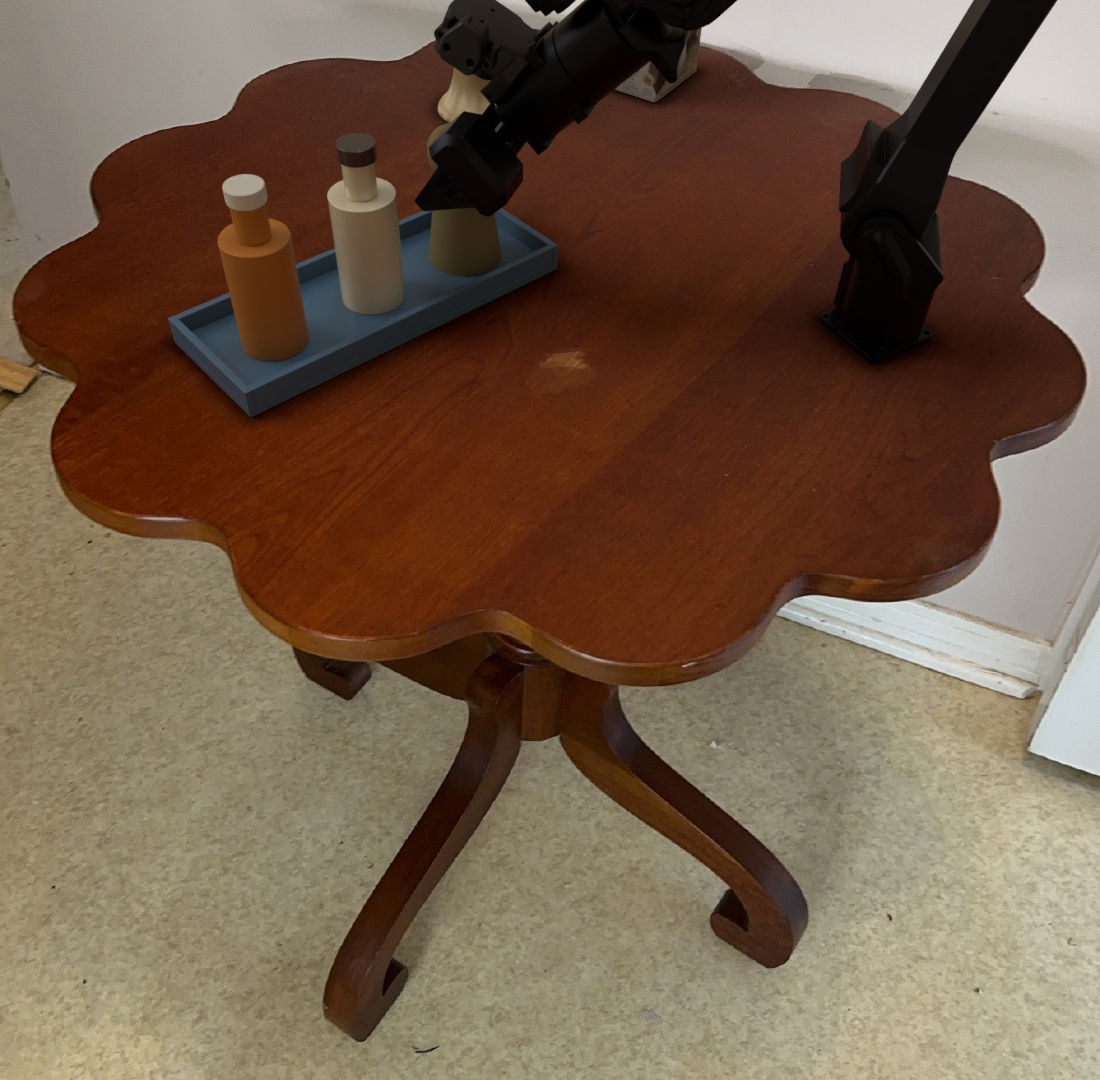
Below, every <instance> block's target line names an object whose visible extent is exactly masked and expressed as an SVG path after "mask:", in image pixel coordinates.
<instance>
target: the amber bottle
mask: <svg viewBox="0 0 1100 1080" xmlns="http://www.w3.org/2000/svg"><path fill="white" fill-rule="evenodd" d="M221 189H222V193H223V197H224V198H223V199H224V202H225V205H226V206H227V207H228V209H229V211H230V216H231V220H232V222H231V223H230V224H229V225H227V226H226V227H224V228H223V229H222V230H221V231H220V232H219V234H218V236H217V246H218V250H219V255H220V259H221V262H222V266H223V271H224V276H225V280H226V284H227V288H228V293H230V298H231V302H232V306H233V310H234V315H235V319H236V323H237V327H238V332H239V336H240V340H241V344H242V348H243V350H244V351H245V352H246V353H247V354H248V355H249V356H251V357H253V358H255V359H258V360H263V361H279V360H284V359H288V358H290V357H293V356H295V355H297V354H298V353H300V352H301V351H302V350H303V349H304V348H305V347H306V345H307V343H308V340H309V335H308V329H307V324H306V318H305V312H304V307H303V301H302V295H301V290H300V284H299V278H298V273H297V267H296V264H297V262H296V256H295V249H294V245H293V241H292V239H293V238H292V234H291V230H290V229H289V228H288V226H287V225H286V224H285V223H284V222H282V221H279V220H276V219H274V218H269V213H268V208H267V204H266V203H267V202H268V192H267V187H266V183H265V180H264V179H263V178H262V177H260V176H258V175H256V174H250V173H242V174H237V175H233V176H230V177H229V178H227V179H226V180H224V181H223V183H222V186H221Z"/></svg>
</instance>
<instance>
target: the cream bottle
mask: <svg viewBox="0 0 1100 1080" xmlns="http://www.w3.org/2000/svg"><path fill="white" fill-rule="evenodd" d="M376 141H377V140H376V138H374V136H372V135H370V134H368V133H363V132H351V133H346V134H343V135H341V136H340V137H338V138H337V139H336V141H335V149H336V157H337V158H336V159H337V161H338V163H339V164H340V165H341V166H340V167H341V174H342V180H339V181H337V182H336V183H334V184H333V185H332V186H331V187H330V188H329V189H328V191H327V194H326V197H327V204H328V212H329V219H330V225H331V233H332V239H333V240H332V241H333V246H334V248H335V254H336V261H337V268H338V275H339V282H340V289H341V296H342V301H343V303H344V305H345V306H346V307H347V308H348V309H350V310H352V311H354V312H357V313H360V314H366V315H376V314H383V313H386V312H389V311H392V310H394V309H395V308H397V307H398V306H400V305H401V303H402V302H403V301H404V298H405V286H404V275H403V264H402V253H401V242H400V231H399V221H400V220H399V211H398V199H397V191H396V187H394V185H393V184H392V183H391V182H389V181H388V180H386V179H383V178H381V177H377V167H376V161H377V159H378V153H377V142H376Z"/></svg>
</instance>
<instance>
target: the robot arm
mask: <svg viewBox="0 0 1100 1080" xmlns="http://www.w3.org/2000/svg"><path fill="white" fill-rule="evenodd" d="M576 1H577V0H524V2H525V3H526V4H527V5H528V6H529V7H530V9H532V11H533V12H534V13H538V12H541V13H542V15H543V16H544V17H545V18H546V17H548V16H549V15H550V14H552V13H553V12H554V13H555V14H557V15H560V14H561V13H563V12H565V11H566V10H567V9H568V8H569V7H571V6H572V5H573V4H574V3H575V2H576ZM736 2H738V0H583V1H581V2H580V3H579V4H578V5H577V6H576V7H574V9H572V10H571V11H570V12H569V13H568V14H567V15H566V16H565V17H563V18H562V19H561V20H560V21H559V22H558V20H556V21H555V22H554V23H551V21H548V22H547V23H546V24H544V25H543V26H542V27H541V28H540V29H538V28H532V27H531V26H530V25H528V24H527V23H526V22H525V21H524V20H523V19H522V17H521V16H519V15H518V14H517V13H515V12H514V11H512V10H511V9H510V8H508V7H507V6H505V5H504V4H502V3H501V2H500V1H498V0H452V1H451V2H450V3H449V4H448V7H447V10H446V11H445V14H444V17H443V19H442V22H441V23H440V24H439V25H438V26H437V27H436V28H435V29H434V32H433V36H434V38H435V39H434V41H433V48H434V50H435V52H436V53H437V54H438V55H439V58H440V59H441V60H442V61H443V62H445V63H447V64H448V65H450V66H451V67H453V69H454V68H456V69H457V70H459V71H460V72H462V73H463V74H465V75H472V74H474V75H476V76H477V77H479V78H481V79H484V80H490V81H489V82H488V83H487V84H486V85H485V86H484V87H483V88H482V89H481V91H480V92H481V93H482V94H483V95H484V97H485V98H486V99H487V100H488V101H489V103H490V104H489V106H488V107H487V108H486V110H485V111H484V112H483V114H482V115H481V114H477V113H472V112H466V111H463V112H462V113H461V114H460V115H459V116H458V117H456V118H455V119H454V120H453V121H452V122H451V123H450V124H449V125H448V126H447V127H446V128H445V129H444V130H443V131H442V132H441V134H440V135H439V136H438V137H437V138H436V139H435V141H434V142H433V143H432V144H431V145H430V147H429V152H430V156H431V159H432V160H433V161H434V162H435V163H436V164H437V165H438V168H437V169H436V170H435V172H434V171H433V174H432V175H431V176H430V177H429V179H428V180H427V182H426V183H425V184H424V186H423V188H422V189H421V190H420V191H419V193H418V194H417V195H416V197H415V199H414V203H415V204H416V205H417V207H419V209H420V210H421V211H436V210H448V209H462V208H475V209H476V210H477V211H478V212H479V213H480V214H481V215H483V216H487V217H490V216H492V215H493V214H494V213H496V212H497V211H498V210H500V209H501V208H504V207H505V206H506V205H507V204H508V203H509V202H510V200H511V199H512V197H513V196H514V195H515V193H516V191H518V189H519V187H520V186H521V184H522V183H523V181H524V163H523V162H522V161H521V160H520V158H519V157H518V155H519V153H520V152H521V151H522V149H523V148H524V146H525V145H526V143H527V144H528V145H529V146H530V148H531V149H532V150H533V151H534V152H535V153H536V154H537V156H540V155H541V154H542V153H544V152H545V151H546V150H547V149H548V148H549V147H550V146H551V145H552V143H553V141H554V140H555V138H556V137H557V136H558V134H560V133H561V132H562V131H563V130H565V129H566V128H567V127H569V126H570V125H571V124H572V123H574V122H575V123H576V124H577V125H580V124H581V123H582V122H583V121H585V120H586V119H587V118H588V117H589V116H590V114H592V112H593V110H594V108H595V107H596V105H598V103H599V102H601V101H602V100H603V99H605V97H607V96H608V95H609V94H611V93H612V92H613V91H615V90H614V89H616V88H617V87H618V86H619V85H621V84H622V83H623V82H625V81H626V80H627V79H628V78H630V77H631V76H632V75H633V74H635V73H636V72H637V71H639V70H640V69H641V68H642V67H644V66H645V65H646V64H647V63H649V62H650V61H651V62H652V63H653V65H654V66H655V67H656V68H657V69H658V71H659V72H660V73H661V74H662V75H663V77H664V78H665V79H666V80H667V81H668V82H669V83H675V82H676V81H677V79H678V77H679V74H680V72H681V69H682V66H683V64H684V61H685V58H686V42H687V40H688V37H689V34H690V31H691V30H697V29H700V28H702V29H703V28H704V27H707V26H709V25H711V24H712V23H714V22H715V21H716V20H717V19H718V18H719V17H720V16H722V15H723V14H725V12H727V10H728V9H730V8H731V7H732V6H733V5H734V4H735V3H736ZM1057 2H1058V0H972V2H971V4H970V5H969V7H968V9H967V10H966V12H965V14H964V15H963V17H961V18H962V19H960V21H959V23H958V25H957V27H956V28H955V30H954V32H953V33H952V34H951V36H950V39H949V40H948V41H947V43H946V45H945V46H944V47H943V50H942V51H941V53H940V54H939V57H938V58H937V59H936V61H935V63H934V64H933V66H932V68H931V70H930V71H929V73H928V75H926V77H925V80H924V81H923V83H922V84H921V86H920V88H919V89H918V91H917V93H916V94H915V95H914V98H913V99H912V101H911V102H910V104H909V105H908V107H907V108H906V109H905V111H904V112H903V113H902V115H900V116H899V117H898V118H896V119H894V121H892V122H891V123H890V124H889V125H888V126H886V127H885V128H884V127H883V126H881V125H879V124H878V123H876V122H875V121H873V120H872V119H869V120H867V121H866V123H865V125H864V127H863V129H862V132H861V135H860V138H859V141H858V143H857V145H856V147H855V148H854V149H853V151H852V152H851V153H850V155H849V156H847V157H846V158H845V159H844V160H843V161H841V162H840V173H839V174H840V175H839V180H840V181H839V197H838V198H839V200H838V212H840V223H839V224H840V225H839V237H840V240H841V243H842V245H843V248H844V249H845V251H846V252H847V253H848V254H849V255H848V259H847V260H844V262H843V265H842V269H841V273H840V278H839V281H838V285H837V288H836V292H835V296H834V300H833V306H834V307H835V308H832V309H829V310H827V311H825V312H822V313H820V315H819V319H818V321H819V323H820V324H822V325H823V326H824V327H825V328H827V330H829V331H830V332H831V333H832V334H834V335H835V336H836V337H838V338H839V339H841V341H843V342H844V343H845V344H846V345H848V346H849V347H850V348H851V349H853V350H854V351H855V352H856V353H857V354H859V355H860V356H861V357H862V358H863V359H865V360H866V361H868V362H869V363H872V364H875V363H879V362H882V361H883V360H886V359H888V358H891V357H894V356H896V355H898V354H900V353H903V352H905V351H908V350H911V349H912V348H913V349H914V348H915V347H918V346H920V345H922V344H925V343H927V342H929V341H931V340H932V338H933V336H934V332H933V331H932V330H931V329H930V328H929V327H928V326H925V321H926V318H927V315H928V313H929V310H930V307H931V303H932V301H933V298H934V295H935V292H936V290H937V289H938V287H939V286H940V285H941V284H942V282H943V281H944V267H943V256H942V255H943V253H942V251H943V250H942V240H941V237H942V236H941V225H940V224H941V223H940V214H939V213H938V211H937V209H938V207H939V204H940V201H941V198H942V195H943V192H944V188H945V186H946V182H947V179H948V175H949V173H950V170H951V166H952V163H953V161H954V158H955V156H956V153H957V152H958V150H959V149H960V147H961V146H962V145H963V143H964V142H965V140H966V138H967V137H968V135H969V134H970V133H971V131H972V129H973V128H974V126H976V123H977V122H978V120H979V119H980V118H981V116H982V114H983V113H984V112H985V110H986V108H987V107H988V106H989V104H990V103H991V101H992V99H994V96H995V94H996V93H997V92H998V90H999V88H1000V87H1001V86H1002V85H1003V83H1004V81H1005V80H1006V78H1007V77H1008V76H1009V74H1010V72H1011V71H1012V69H1014V66H1015V65H1016V63H1017V62H1018V61H1019V59H1020V58H1021V56H1022V54H1023V53H1024V51H1025V50H1026V48H1027V47H1028V45H1030V42H1031V41H1032V39H1033V38H1034V37H1035V35H1036V34H1037V32H1038V30H1039V29H1040V27H1041V26H1042V25H1043V23H1044V21H1045V20H1046V18H1047V17H1048V15H1049V14H1050V13H1051V11H1052V9H1053V8H1054V6H1055V5H1056V4H1057Z"/></svg>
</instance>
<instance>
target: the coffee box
mask: <svg viewBox="0 0 1100 1080" xmlns="http://www.w3.org/2000/svg"><path fill="white" fill-rule="evenodd" d="M702 29H703V27H702V28H700V29H697V30H691V31H690V34H689V37H688V40H687V42H686V58H685V61H684V64H683V66H682V69H681V72H680V74H679V77H678V79H677V81H676V82H675V83H669V82H668V81H667V80H666V79H665V78H664V77H663V75H662V74H661V73H660V72H659V71H658V69H657V68H656V67H655V66H654V65H653V63H652V62H651V61H650V62H649V63H647V64H646V65H645V66H644V67H642V68H641V69H640V70H639V71H637V72H636V73H635V74H633V75H632V76H631V77H630V78H628V79H627V80H626V81H625V82H623V83H622V84H621V85H619V86H618V87H617V88H616V89H614V90H613V91H617V92H620V93H623V94H626V95H629V96H632V97H636V98H639V99H642V100H645V101H647V102H650V103H657V102H658V101H661V99H663V98H664V97H665V96H666V95H667V94H669V93H670V92H671V91H673V90H674V89H676V87H678V86H679V85H680V84H682V83H683V82H685V81H686V80H687V79H688V78H689V77H691V76H693V75H694V74H695V73H696V72H697V68H698V60H699V52H700V45H701V37H702Z"/></svg>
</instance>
